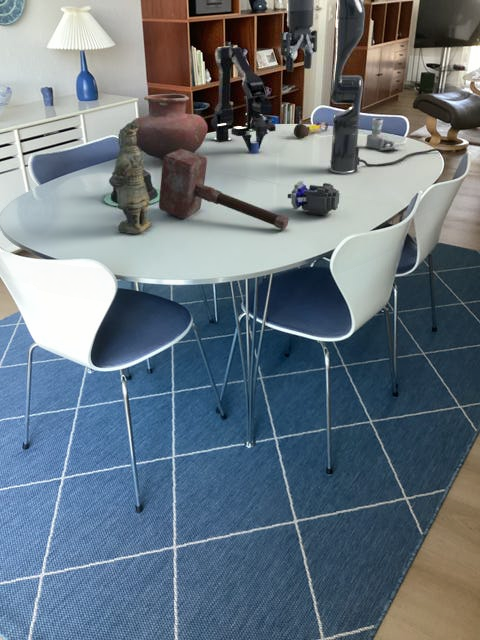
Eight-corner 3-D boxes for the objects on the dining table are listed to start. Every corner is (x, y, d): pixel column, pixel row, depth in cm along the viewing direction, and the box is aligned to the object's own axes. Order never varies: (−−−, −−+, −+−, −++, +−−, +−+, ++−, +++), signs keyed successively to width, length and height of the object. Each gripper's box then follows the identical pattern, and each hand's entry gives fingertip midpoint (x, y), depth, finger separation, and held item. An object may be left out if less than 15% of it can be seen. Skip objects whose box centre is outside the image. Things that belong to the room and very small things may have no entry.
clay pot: (215, 151, 239) (212, 89, 226) (198, 171, 213) (194, 102, 201) (147, 150, 244) (141, 89, 231) (123, 168, 218) (114, 101, 206)
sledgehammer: (299, 190, 156) (179, 147, 167) (285, 200, 148) (161, 154, 160) (286, 244, 166) (174, 200, 177) (272, 256, 158) (156, 209, 170)
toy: (295, 178, 172) (342, 184, 166) (295, 205, 177) (340, 211, 171) (285, 186, 166) (333, 192, 160) (284, 213, 170) (331, 220, 164)
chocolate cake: (91, 202, 180) (113, 186, 197) (142, 231, 182) (160, 212, 199) (107, 162, 172) (129, 148, 190) (160, 192, 174) (177, 176, 192)
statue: (131, 220, 168) (117, 116, 152) (158, 224, 164) (147, 118, 149) (109, 233, 159) (93, 124, 144) (138, 237, 156) (124, 126, 140)
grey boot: (376, 116, 238) (408, 121, 230) (373, 144, 244) (404, 150, 236) (365, 119, 233) (397, 124, 224) (362, 148, 239) (393, 154, 230)
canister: (248, 151, 239) (248, 141, 237) (257, 150, 240) (257, 140, 237) (250, 153, 236) (250, 143, 233) (259, 153, 236) (259, 142, 234)
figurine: (335, 120, 268) (311, 122, 249) (333, 136, 271) (309, 140, 252) (311, 118, 275) (286, 120, 256) (309, 134, 278) (284, 137, 259)
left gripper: (243, 117, 219) (244, 157, 227) (283, 111, 227) (282, 150, 235) (230, 112, 228) (231, 151, 235) (268, 108, 235) (268, 145, 243)
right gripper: (305, 8, 166) (303, 67, 175) (274, 9, 158) (273, 71, 166) (325, 7, 162) (322, 68, 170) (295, 9, 153) (293, 73, 161)
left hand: (253, 149), depth 237 cm, fingers closed on canister, 4 cm apart
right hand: (298, 70), depth 168 cm, fingers open, 8 cm apart
